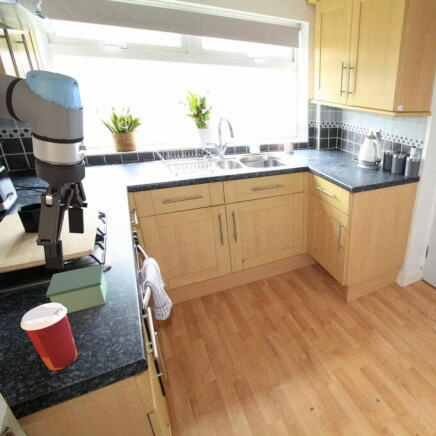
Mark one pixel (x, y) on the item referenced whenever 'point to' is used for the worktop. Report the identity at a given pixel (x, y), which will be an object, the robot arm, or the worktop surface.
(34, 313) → the paper cup
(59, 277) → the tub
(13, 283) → the worktop surface
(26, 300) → the worktop surface
